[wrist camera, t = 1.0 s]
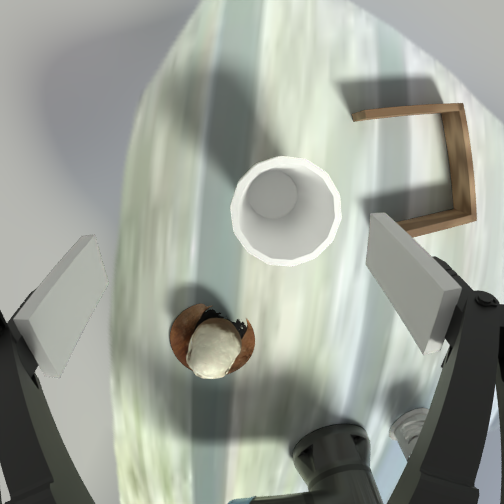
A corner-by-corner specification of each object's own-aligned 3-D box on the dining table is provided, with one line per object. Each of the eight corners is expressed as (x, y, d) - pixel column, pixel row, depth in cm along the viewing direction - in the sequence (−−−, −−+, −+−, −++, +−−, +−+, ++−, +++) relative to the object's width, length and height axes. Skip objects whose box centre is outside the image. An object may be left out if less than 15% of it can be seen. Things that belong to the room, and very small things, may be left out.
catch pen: (458, 214, 41) (476, 220, 36) (372, 235, 41) (386, 244, 37) (444, 105, 36) (463, 103, 32) (351, 114, 37) (364, 109, 32)
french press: (392, 415, 52) (442, 516, 28) (442, 399, 52) (500, 486, 28) (385, 445, 55) (424, 537, 31) (432, 430, 55) (478, 512, 31)
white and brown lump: (238, 389, 47) (189, 409, 38) (197, 345, 52) (147, 355, 44) (277, 332, 43) (229, 345, 35) (229, 287, 49) (177, 290, 40)
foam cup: (249, 241, 41) (252, 280, 29) (222, 172, 38) (213, 180, 26) (320, 216, 40) (354, 243, 28) (296, 145, 38) (322, 142, 25)
